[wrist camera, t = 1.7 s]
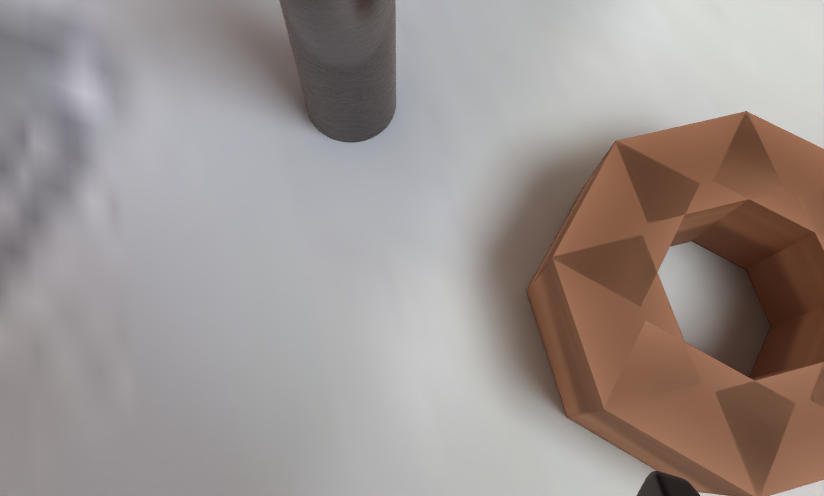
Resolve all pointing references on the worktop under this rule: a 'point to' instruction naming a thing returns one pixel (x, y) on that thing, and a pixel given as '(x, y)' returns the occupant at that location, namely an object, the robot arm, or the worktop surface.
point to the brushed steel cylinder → (345, 63)
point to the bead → (653, 317)
